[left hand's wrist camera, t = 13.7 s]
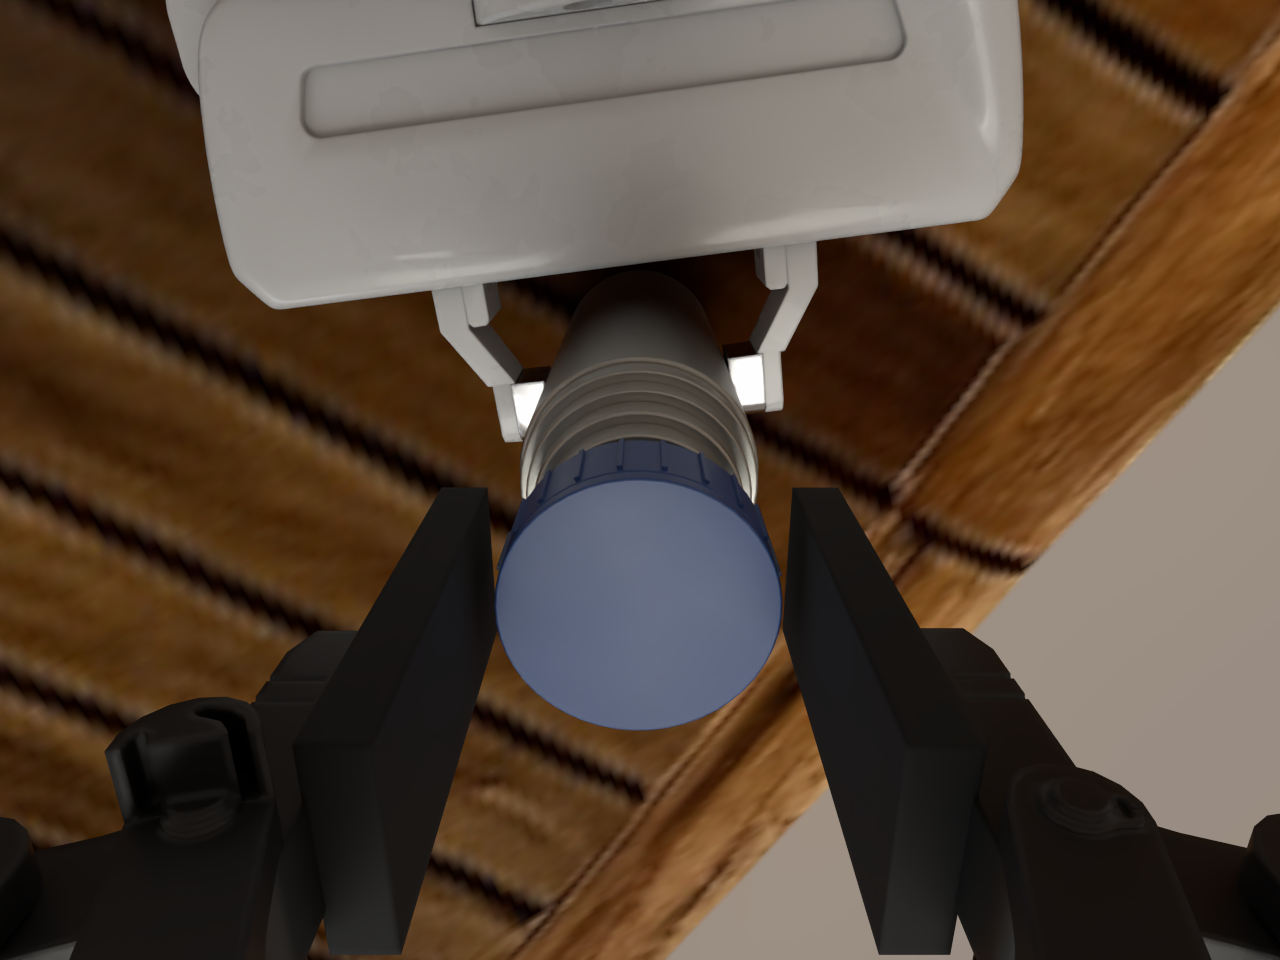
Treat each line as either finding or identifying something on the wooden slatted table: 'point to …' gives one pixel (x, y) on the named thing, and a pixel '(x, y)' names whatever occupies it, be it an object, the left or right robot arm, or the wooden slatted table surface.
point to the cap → (638, 587)
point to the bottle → (639, 382)
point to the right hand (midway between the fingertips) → (644, 421)
